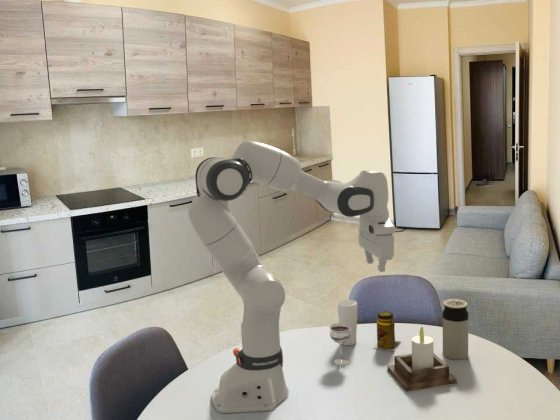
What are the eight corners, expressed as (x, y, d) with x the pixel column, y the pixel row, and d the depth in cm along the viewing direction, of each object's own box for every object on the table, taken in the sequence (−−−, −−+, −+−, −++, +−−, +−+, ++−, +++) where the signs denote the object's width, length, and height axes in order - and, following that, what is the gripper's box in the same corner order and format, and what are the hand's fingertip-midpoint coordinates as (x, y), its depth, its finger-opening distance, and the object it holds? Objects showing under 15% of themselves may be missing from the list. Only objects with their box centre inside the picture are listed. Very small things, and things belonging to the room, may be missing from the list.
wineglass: (355, 363, 175) (354, 328, 173) (337, 368, 173) (335, 333, 171) (345, 355, 181) (344, 321, 179) (327, 359, 179) (325, 325, 177)
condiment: (373, 348, 185) (372, 315, 183) (380, 339, 193) (379, 307, 191) (394, 352, 182) (393, 318, 180) (400, 342, 189) (400, 309, 187)
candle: (433, 367, 166) (433, 321, 164) (433, 377, 160) (433, 330, 158) (412, 366, 168) (411, 320, 165) (411, 376, 162) (411, 329, 159)
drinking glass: (357, 347, 187) (356, 306, 184) (338, 346, 188) (336, 306, 186) (358, 339, 193) (357, 299, 191) (340, 338, 195) (338, 299, 192)
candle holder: (406, 391, 156) (406, 375, 155) (387, 370, 170) (387, 355, 169) (457, 383, 159) (457, 367, 158) (434, 362, 173) (434, 348, 172)
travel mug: (470, 360, 173) (470, 307, 170) (444, 360, 174) (444, 307, 171) (465, 349, 180) (466, 298, 177) (441, 349, 182) (441, 298, 179)
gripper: (353, 218, 173) (354, 259, 176) (376, 230, 154) (378, 277, 156) (371, 216, 174) (372, 257, 177) (397, 228, 155) (398, 274, 157)
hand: (375, 267), depth 166 cm, fingers open, 8 cm apart
